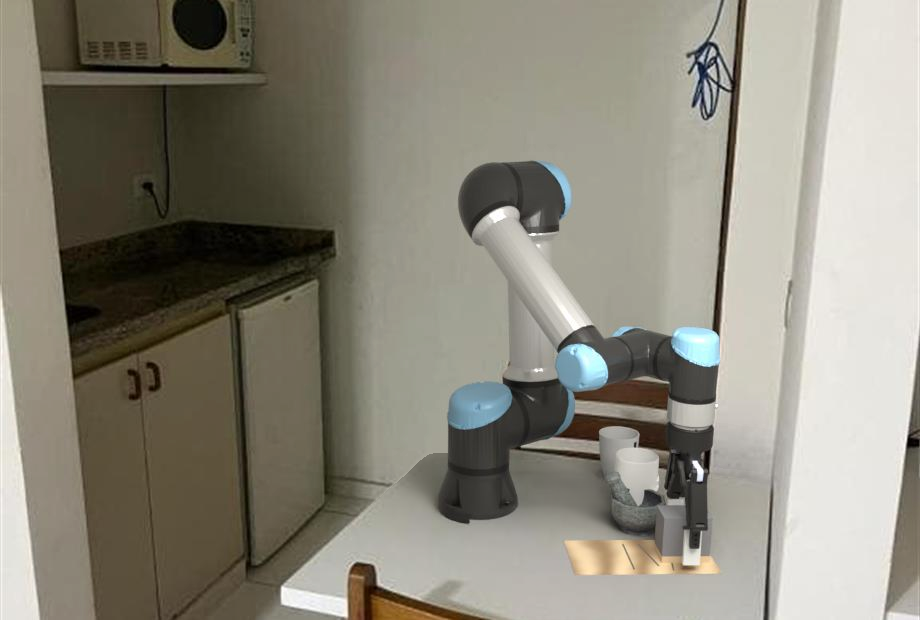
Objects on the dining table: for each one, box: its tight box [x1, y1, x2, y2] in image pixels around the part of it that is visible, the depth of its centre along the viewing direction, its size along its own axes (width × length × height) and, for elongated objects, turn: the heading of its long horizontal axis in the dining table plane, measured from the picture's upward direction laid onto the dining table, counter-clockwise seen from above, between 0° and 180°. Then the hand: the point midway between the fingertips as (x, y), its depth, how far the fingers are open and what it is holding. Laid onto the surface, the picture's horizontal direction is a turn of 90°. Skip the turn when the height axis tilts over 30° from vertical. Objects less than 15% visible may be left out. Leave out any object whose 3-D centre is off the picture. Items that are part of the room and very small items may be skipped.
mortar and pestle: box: [604, 471, 667, 537], centre depth 164 cm, size 11×9×12 cm
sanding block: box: [654, 504, 714, 563], centre depth 154 cm, size 8×5×8 cm, turn 92°
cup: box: [598, 425, 640, 478], centre depth 189 cm, size 8×8×10 cm
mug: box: [614, 447, 660, 506], centre depth 173 cm, size 8×12×12 cm
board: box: [563, 539, 723, 576], centre depth 155 cm, size 24×12×1 cm, turn 92°
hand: (681, 548), depth 155 cm, fingers open, 10 cm apart
